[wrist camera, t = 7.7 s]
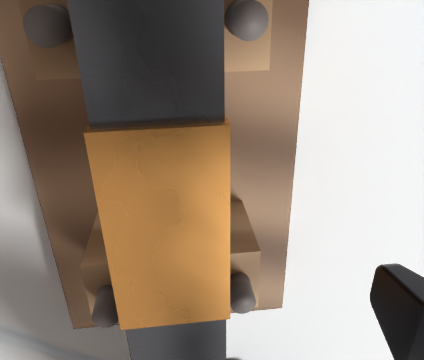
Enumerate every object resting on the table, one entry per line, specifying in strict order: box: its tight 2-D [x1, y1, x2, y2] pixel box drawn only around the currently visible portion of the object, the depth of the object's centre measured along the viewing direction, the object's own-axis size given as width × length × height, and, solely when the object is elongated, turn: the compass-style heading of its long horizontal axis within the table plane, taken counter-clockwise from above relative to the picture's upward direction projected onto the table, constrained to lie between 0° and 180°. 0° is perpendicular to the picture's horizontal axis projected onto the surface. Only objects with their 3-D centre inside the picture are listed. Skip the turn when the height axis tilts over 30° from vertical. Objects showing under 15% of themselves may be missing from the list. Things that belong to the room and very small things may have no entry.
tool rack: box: [0, 0, 309, 329], centre depth 14 cm, size 22×12×6 cm, turn 1°
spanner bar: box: [67, 0, 230, 360], centre depth 11 cm, size 14×3×4 cm, turn 1°
